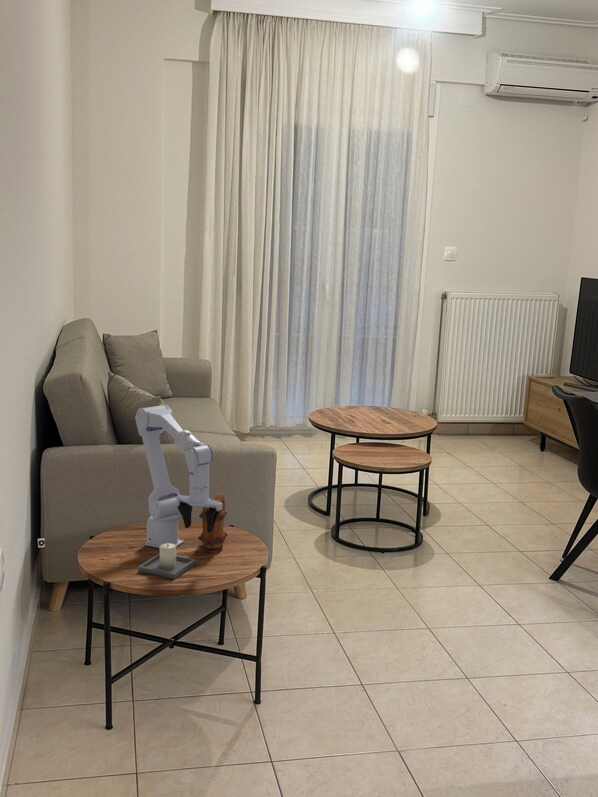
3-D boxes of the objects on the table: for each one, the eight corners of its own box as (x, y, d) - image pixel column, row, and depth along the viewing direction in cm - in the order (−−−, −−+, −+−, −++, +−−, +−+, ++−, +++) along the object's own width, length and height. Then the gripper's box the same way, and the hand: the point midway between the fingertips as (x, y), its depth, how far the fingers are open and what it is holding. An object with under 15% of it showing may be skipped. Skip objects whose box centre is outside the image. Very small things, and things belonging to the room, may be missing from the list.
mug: (220, 553, 248) (221, 507, 245) (195, 550, 250) (195, 504, 247) (234, 536, 262) (234, 492, 259) (210, 533, 264) (210, 489, 261)
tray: (138, 571, 233) (138, 566, 233) (161, 556, 244) (161, 551, 244) (173, 579, 229) (173, 574, 228) (195, 564, 239) (195, 559, 239)
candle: (156, 566, 236) (156, 544, 234) (167, 561, 240) (167, 539, 238) (168, 570, 233) (168, 548, 232) (179, 564, 237) (179, 543, 236)
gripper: (170, 485, 235) (170, 529, 238) (213, 493, 230) (213, 538, 233) (183, 479, 242) (183, 521, 245) (226, 486, 236) (225, 530, 239)
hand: (199, 529), depth 239 cm, fingers open, 7 cm apart
